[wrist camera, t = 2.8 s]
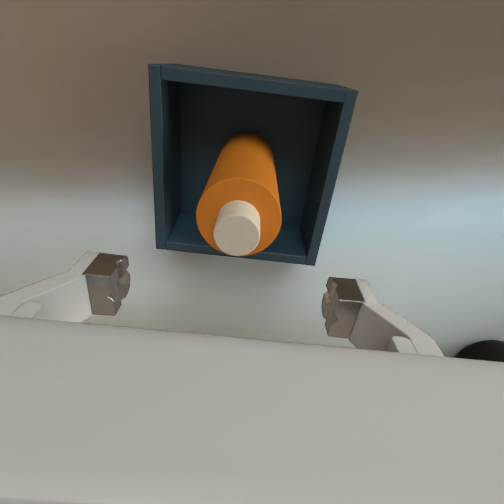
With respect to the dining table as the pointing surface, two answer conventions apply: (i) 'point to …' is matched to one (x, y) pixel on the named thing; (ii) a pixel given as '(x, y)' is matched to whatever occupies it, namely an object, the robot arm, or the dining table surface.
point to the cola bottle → (484, 351)
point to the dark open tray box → (236, 121)
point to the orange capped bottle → (241, 198)
